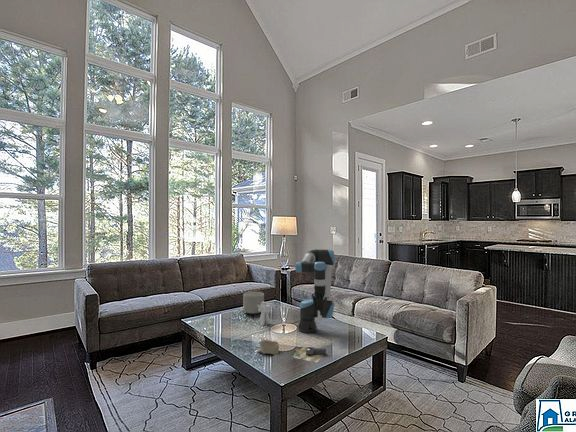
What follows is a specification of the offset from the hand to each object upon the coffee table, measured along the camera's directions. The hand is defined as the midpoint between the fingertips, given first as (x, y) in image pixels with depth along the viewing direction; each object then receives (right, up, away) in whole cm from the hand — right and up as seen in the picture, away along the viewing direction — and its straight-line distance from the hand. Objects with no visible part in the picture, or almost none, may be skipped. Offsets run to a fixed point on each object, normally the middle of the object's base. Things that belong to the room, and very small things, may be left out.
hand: (319, 319), depth 217 cm
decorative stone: (-34, -20, -7) cm, 40 cm away
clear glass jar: (-41, -21, +53) cm, 70 cm away
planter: (-54, -21, +81) cm, 99 cm away
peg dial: (-7, -19, -11) cm, 23 cm away
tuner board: (-7, -20, -11) cm, 24 cm away
